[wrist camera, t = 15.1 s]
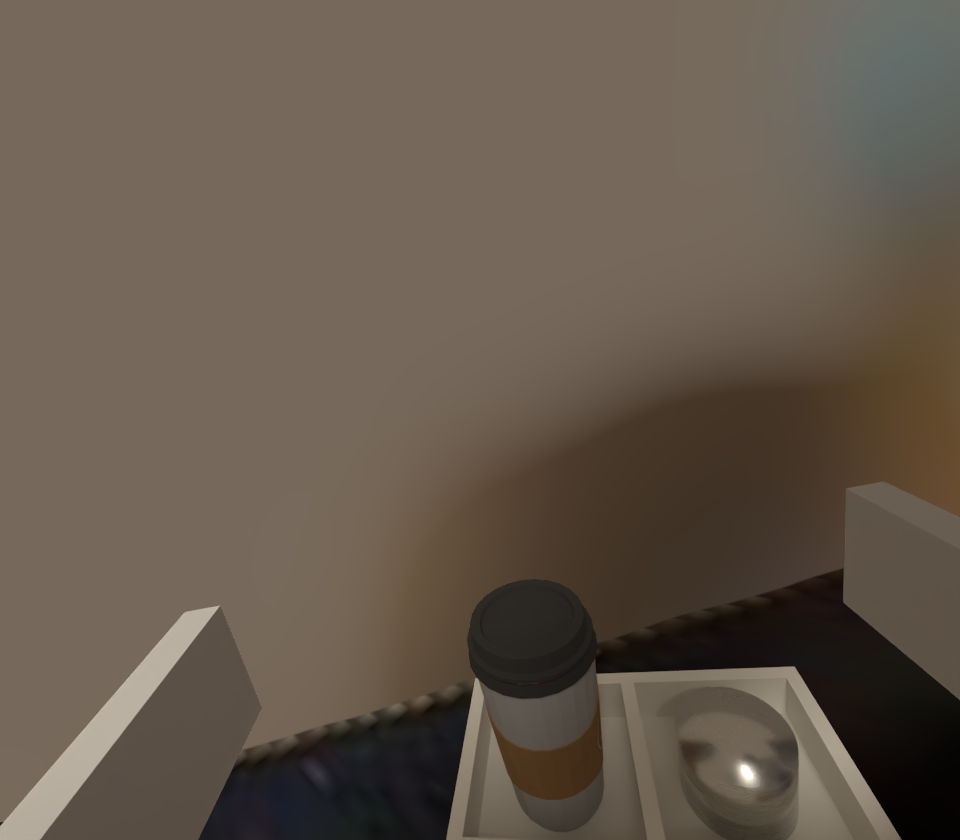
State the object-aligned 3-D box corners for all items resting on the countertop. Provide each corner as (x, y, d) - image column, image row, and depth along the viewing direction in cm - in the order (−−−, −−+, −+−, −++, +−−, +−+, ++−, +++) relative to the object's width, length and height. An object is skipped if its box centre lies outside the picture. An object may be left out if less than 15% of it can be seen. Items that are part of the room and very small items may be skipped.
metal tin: (769, 739, 34) (768, 685, 33) (822, 850, 28) (822, 788, 27) (669, 740, 36) (664, 688, 34) (696, 846, 29) (691, 787, 28)
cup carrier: (794, 712, 37) (794, 666, 36) (916, 931, 25) (921, 872, 24) (485, 718, 42) (475, 678, 40) (458, 905, 29) (443, 855, 28)
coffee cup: (635, 844, 30) (608, 653, 26) (506, 863, 30) (459, 677, 26) (602, 726, 38) (577, 566, 34) (500, 742, 38) (463, 585, 34)
